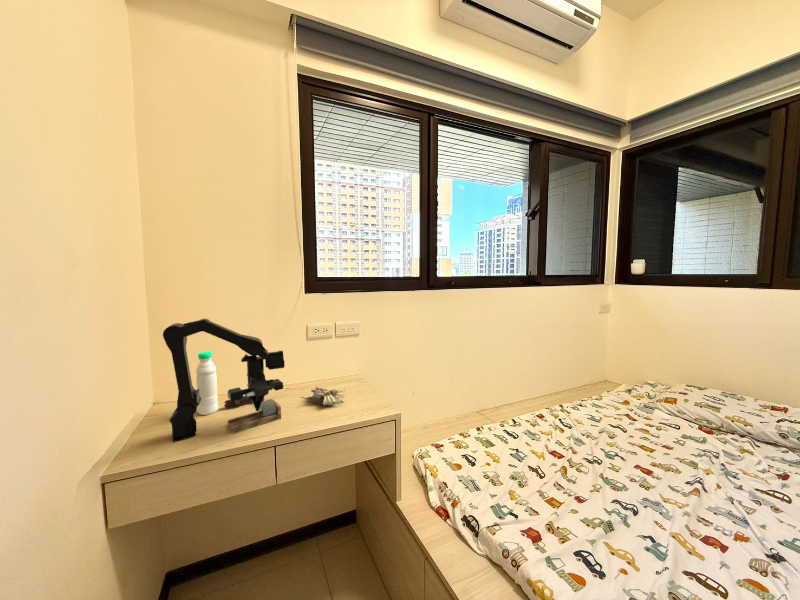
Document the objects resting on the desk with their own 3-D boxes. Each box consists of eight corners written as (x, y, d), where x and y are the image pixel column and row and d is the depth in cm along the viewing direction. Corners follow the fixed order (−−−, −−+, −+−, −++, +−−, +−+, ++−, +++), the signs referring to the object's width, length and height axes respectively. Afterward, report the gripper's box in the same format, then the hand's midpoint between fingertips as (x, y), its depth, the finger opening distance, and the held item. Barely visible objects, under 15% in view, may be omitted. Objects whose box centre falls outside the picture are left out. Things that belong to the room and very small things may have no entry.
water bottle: (209, 416, 122) (205, 355, 120) (194, 414, 123) (190, 354, 121) (222, 408, 129) (219, 350, 127) (208, 407, 130) (204, 349, 128)
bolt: (225, 412, 129) (263, 402, 138) (225, 410, 126) (264, 400, 134) (223, 398, 131) (260, 389, 140) (223, 396, 127) (262, 387, 136)
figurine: (334, 381, 147) (356, 390, 136) (333, 393, 147) (356, 403, 136) (296, 390, 132) (318, 401, 121) (295, 404, 133) (317, 416, 121)
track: (233, 433, 109) (232, 420, 108) (228, 425, 115) (227, 412, 114) (281, 418, 120) (280, 406, 119) (274, 411, 126) (273, 399, 125)
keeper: (263, 419, 117) (262, 406, 116) (259, 414, 120) (258, 402, 120) (276, 415, 120) (276, 402, 120) (272, 410, 124) (271, 398, 123)
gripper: (233, 382, 104) (235, 426, 105) (287, 371, 116) (289, 410, 117) (226, 374, 112) (228, 415, 114) (277, 364, 125) (279, 401, 126)
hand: (257, 410), depth 117 cm, fingers closed
